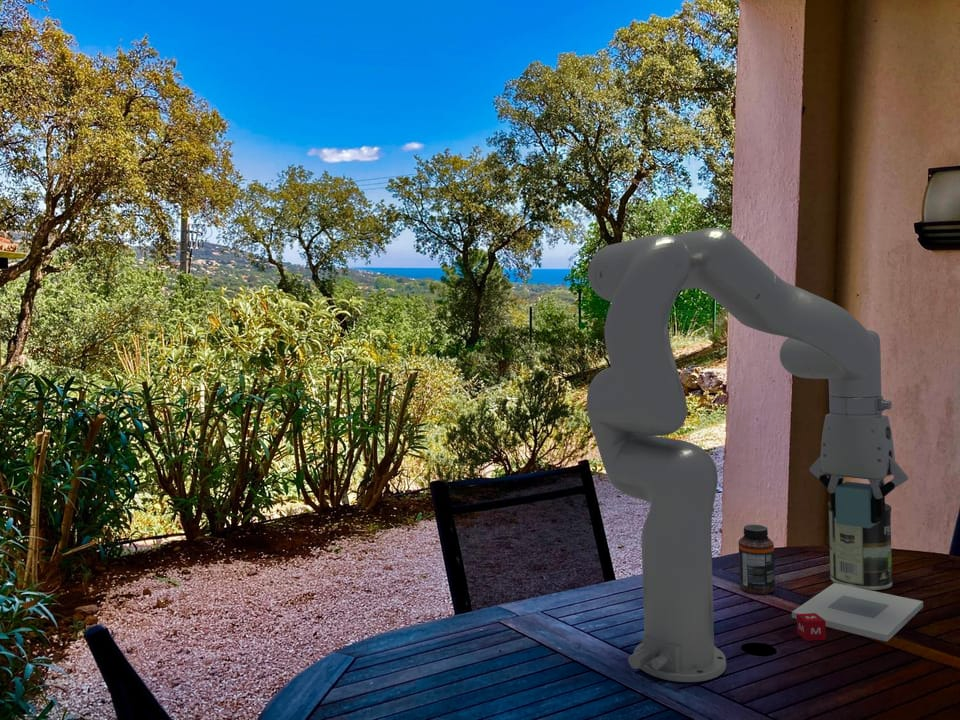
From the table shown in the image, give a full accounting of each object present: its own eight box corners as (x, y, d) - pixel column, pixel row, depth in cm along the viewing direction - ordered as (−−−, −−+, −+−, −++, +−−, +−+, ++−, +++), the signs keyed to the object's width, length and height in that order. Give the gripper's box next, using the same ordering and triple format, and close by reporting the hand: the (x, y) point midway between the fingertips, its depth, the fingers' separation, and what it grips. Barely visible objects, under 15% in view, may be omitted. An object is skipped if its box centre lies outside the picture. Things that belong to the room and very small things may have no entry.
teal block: (880, 521, 119) (879, 485, 119) (869, 528, 115) (868, 490, 115) (847, 517, 123) (846, 481, 122) (836, 523, 119) (835, 486, 119)
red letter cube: (815, 632, 113) (815, 612, 113) (826, 640, 110) (825, 620, 110) (796, 633, 113) (796, 614, 113) (806, 641, 110) (806, 621, 110)
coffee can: (890, 575, 137) (889, 500, 136) (894, 593, 128) (893, 513, 127) (829, 569, 141) (828, 496, 141) (829, 586, 132) (827, 508, 132)
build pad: (887, 641, 108) (886, 634, 108) (791, 618, 119) (791, 611, 118) (923, 607, 121) (922, 600, 121) (834, 588, 131) (834, 582, 131)
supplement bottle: (745, 581, 136) (743, 521, 136) (778, 587, 133) (777, 525, 132) (735, 591, 131) (733, 528, 131) (770, 597, 128) (768, 533, 127)
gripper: (921, 407, 115) (924, 522, 115) (811, 402, 127) (813, 507, 128) (906, 412, 110) (909, 532, 110) (792, 407, 122) (795, 515, 123)
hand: (857, 517), depth 119 cm, fingers closed on teal block, 5 cm apart
